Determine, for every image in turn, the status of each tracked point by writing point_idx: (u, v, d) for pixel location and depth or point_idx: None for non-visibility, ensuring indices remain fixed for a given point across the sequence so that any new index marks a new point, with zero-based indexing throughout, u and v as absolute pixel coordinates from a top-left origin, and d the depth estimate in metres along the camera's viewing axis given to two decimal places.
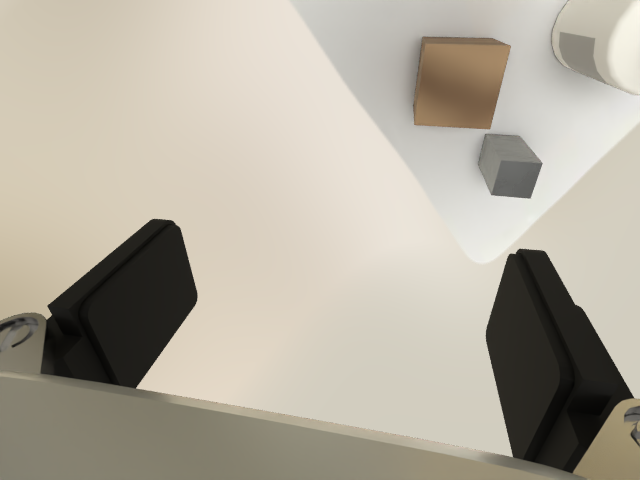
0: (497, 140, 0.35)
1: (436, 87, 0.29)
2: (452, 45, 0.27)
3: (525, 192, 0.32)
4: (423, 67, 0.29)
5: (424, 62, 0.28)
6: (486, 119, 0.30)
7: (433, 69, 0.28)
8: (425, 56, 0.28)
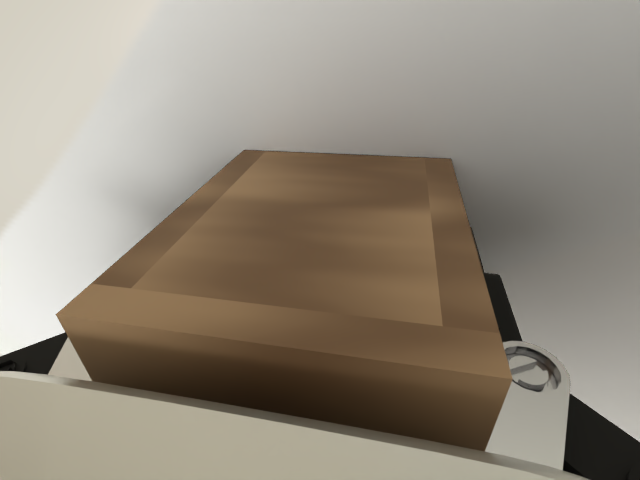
0: None
1: (267, 404, 0.05)
2: None
3: None
4: (368, 362, 0.04)
5: (397, 368, 0.04)
6: None
7: (357, 401, 0.05)
8: (433, 374, 0.04)
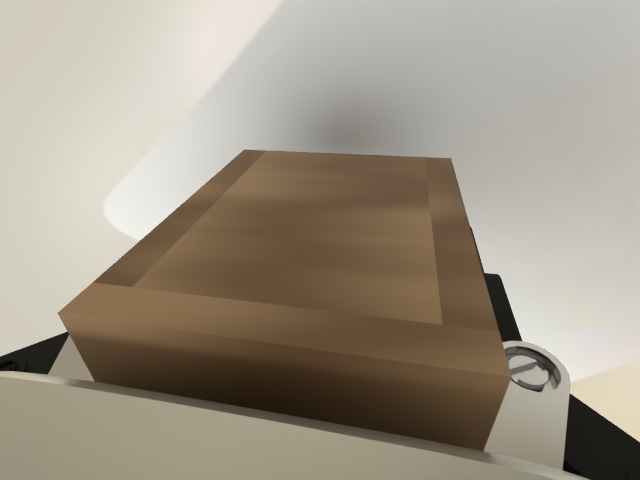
0: None
1: (268, 401, 0.05)
2: None
3: None
4: (368, 360, 0.04)
5: (397, 366, 0.04)
6: None
7: (358, 399, 0.05)
8: (433, 372, 0.04)
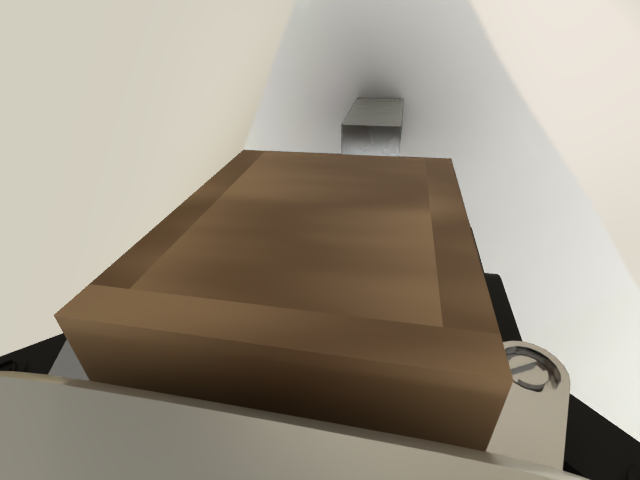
0: None
1: (266, 405, 0.05)
2: None
3: (351, 134, 0.20)
4: (367, 364, 0.04)
5: (397, 370, 0.04)
6: None
7: (357, 403, 0.05)
8: (433, 375, 0.04)
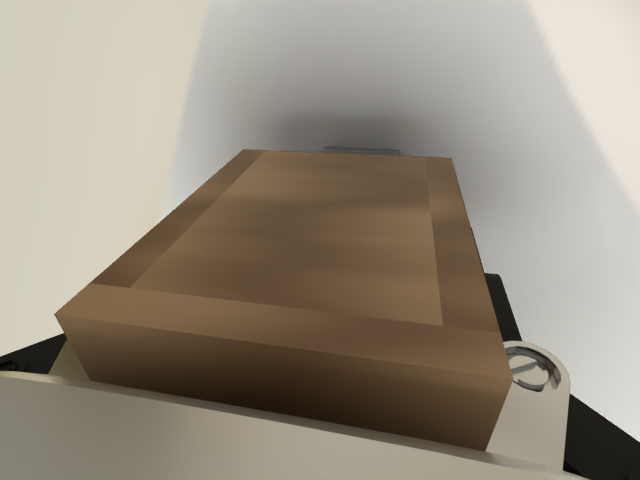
0: None
1: (266, 404, 0.05)
2: None
3: None
4: (368, 362, 0.04)
5: (397, 368, 0.04)
6: None
7: (357, 401, 0.05)
8: (433, 374, 0.04)
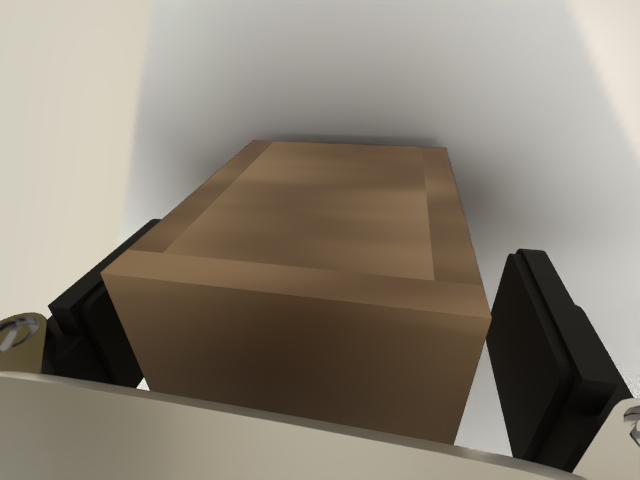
0: None
1: (282, 351, 0.06)
2: (461, 404, 0.06)
3: None
4: (370, 308, 0.05)
5: (395, 312, 0.05)
6: None
7: (361, 345, 0.06)
8: (425, 316, 0.05)
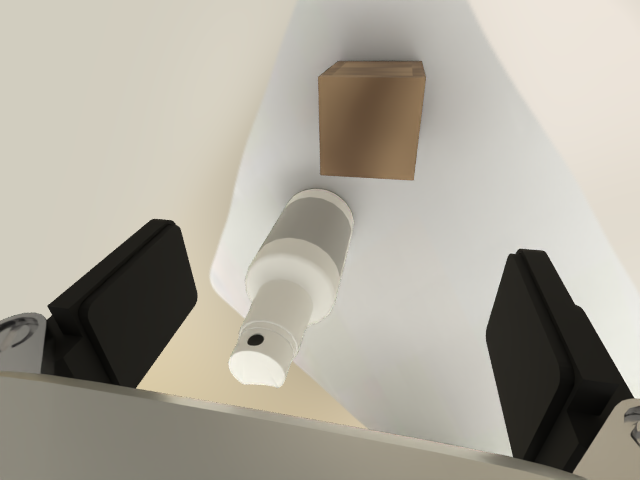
0: None
1: (369, 100, 0.21)
2: (420, 114, 0.21)
3: None
4: (395, 79, 0.21)
5: (402, 79, 0.20)
6: (331, 169, 0.24)
7: (392, 94, 0.21)
8: (409, 80, 0.20)
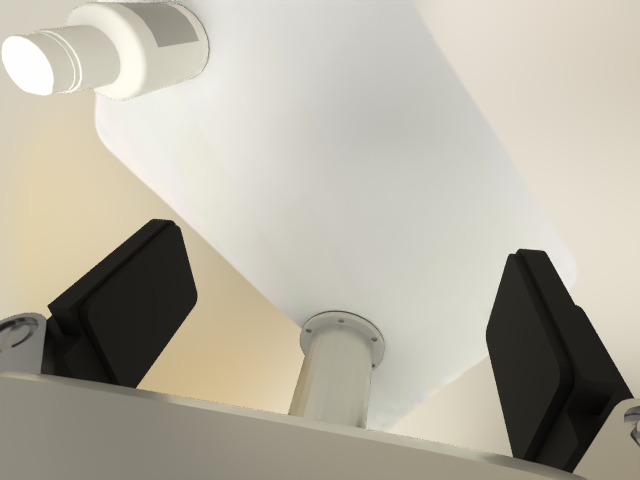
0: None
1: None
2: None
3: None
4: None
5: None
6: None
7: None
8: None
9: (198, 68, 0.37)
